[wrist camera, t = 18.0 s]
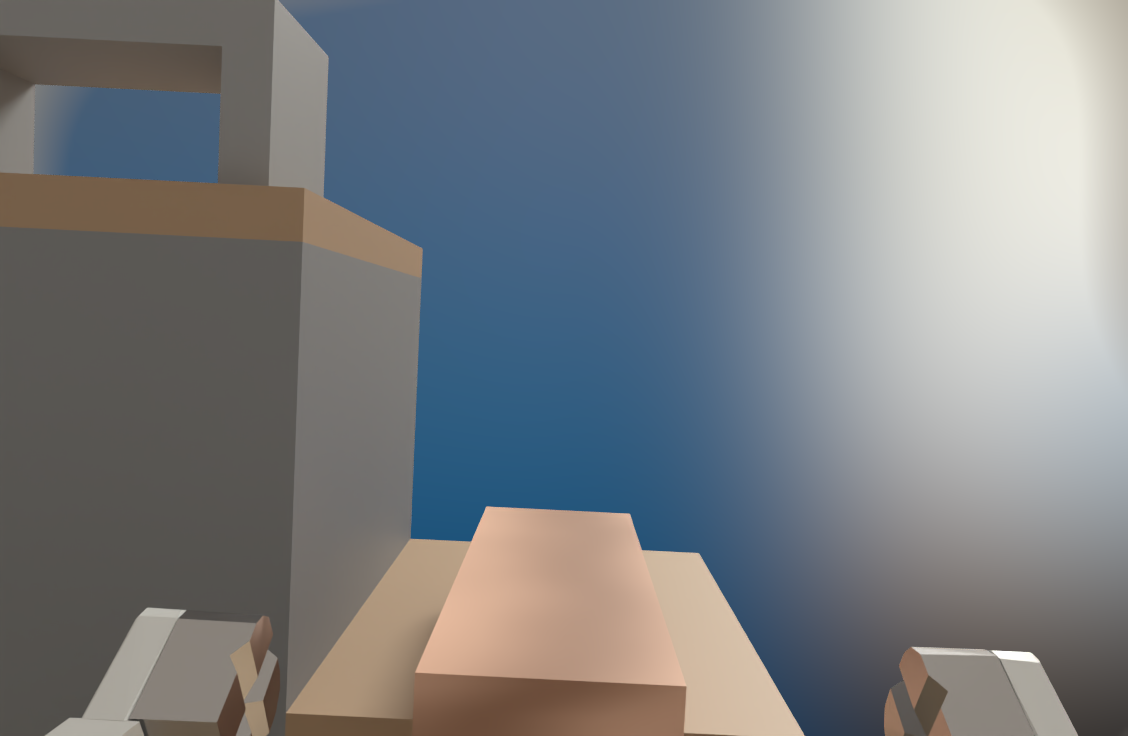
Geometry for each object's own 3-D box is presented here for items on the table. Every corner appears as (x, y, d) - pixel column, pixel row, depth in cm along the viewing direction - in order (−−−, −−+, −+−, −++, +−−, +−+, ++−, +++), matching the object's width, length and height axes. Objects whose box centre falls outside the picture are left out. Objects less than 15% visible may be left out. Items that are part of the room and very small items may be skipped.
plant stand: (-240, 1468, 18) (-232, -48, 17) (110, 970, 32) (132, 120, 31) (755, 1517, 18) (853, 7, 17) (672, 997, 32) (722, 150, 31)
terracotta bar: (407, 837, 13) (414, 672, 13) (482, 594, 25) (486, 506, 25) (677, 851, 13) (686, 686, 13) (624, 601, 25) (629, 513, 25)
